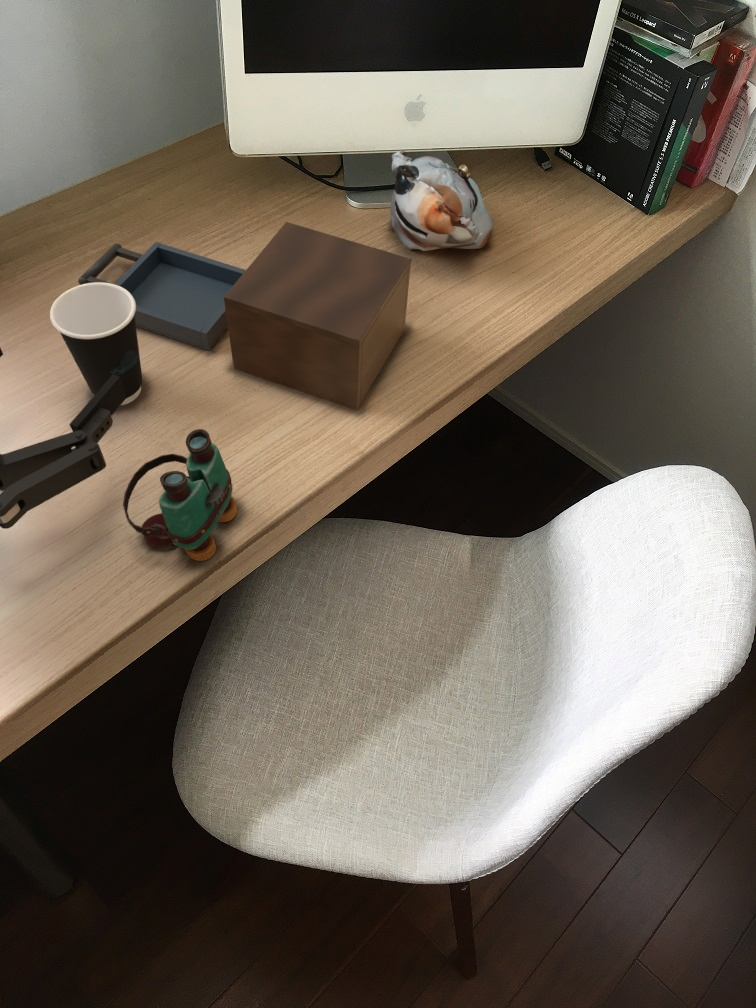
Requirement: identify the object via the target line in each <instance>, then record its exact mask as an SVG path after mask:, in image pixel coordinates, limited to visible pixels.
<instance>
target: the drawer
mask: <svg viewBox="0 0 756 1008" xmlns="http://www.w3.org/2000/svg"><path fill="white" fill-rule="evenodd" d="M117 257H119V258H123V259H125V260H129V261H132V262H134V263H133V264H132V265H131V267H129V268H128V269H127V270H126V271H125V272H124V273H123V275H122V276H121V277H120V278H119V279H118V280H117V281H115V283H113V282H110V281H107V280H104V279H101V278H98V276H99V275H100V274H101V273H102V272H103V271H105V269H106V268H107V267H109V265H110V264H112V262H113V261H114V260H116V258H117ZM246 270H247V269H244V268H242V267H238V266H234V265H232V264H228V263H225V262H222V261H219V260H216V259H213V258H209V257H206V256H202V255H200V254H197V253H193V252H190V251H187V250H183V249H181V248H177V247H174V246H171V245H167V244H164V243H161V242H158V241H155V242H154V243H153V244H152V245H151V246H150V247H149V248H148V249H147V250H146V251H145V252H144V253H139V252H136V251H133V250H129V249H127V248H123V246H122V245H121V244H120V243H114V244H112V245H111V246H110V247H109V248H108V249H107V250H106V251H105V252H104V253H103V254H102V255H101V256H100V257H99V258H98V259H97V260H96V261H95V262H93V264H92V265H90V266H89V268H88V269H87V270H85V272H84V273H83V274H81V275H80V277H79V278H78V281H77V283H78V284H79V285H82V284H87V283H95V282H102V283H110V284H114V285H118V286H120V287H122V288H124V289H126V290H127V291H128V292H129V293H130V294H131V295H132V296H133V298H134V300H135V303H136V311H135V314H134V315H135V323H136V328H137V327H138V328H141V329H144V330H147V331H149V332H153V333H155V334H159V335H162V336H163V337H167V338H170V339H173V340H176V341H178V342H182V343H185V344H188V345H191V346H194V347H197V348H200V349H202V350H205V351H210V350H211V349H212V348H213V347H214V346H215V344H216V343H217V342H218V340H219V339H220V338H221V337H222V336H223V334H224V333H225V332H226V331H227V330H228V324H227V317H226V310H225V303H224V296H225V295H226V294H227V292H228V291H229V290H230V289H231V288H232V286H233V285H234V284H235V283H236V282H237V280H238V279H239V278H240V277H241V276H242V274H243V273H244V272H245V271H246Z"/></svg>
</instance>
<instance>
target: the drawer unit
mask: <svg viewBox="0 0 756 1008" xmlns="http://www.w3.org/2000/svg"><path fill="white" fill-rule="evenodd" d="M411 267H412V258H410V257H407V256H404V255H400V254H397V253H393V252H390V251H387V250H383V249H379V248H377V247H374V246H370V245H366V244H363V243H360V242H356V241H353V240H350V239H346V238H344V237H339V236H336V235H332V234H329V233H326V232H322V231H319V230H315V229H312V228H309V227H305V226H303V225H298V224H295V223H292V222H288V221H286V222H285V223H283V225H282V226H281V227H280V228H279V230H277V232H276V233H275V234H274V236H273V237H272V238H271V240H269V242H268V243H267V244H266V246H264V248H263V249H262V250H261V251H260V252H259V253H258V255H257V256H256V257H255V259H253V261H252V262H251V264H250V265H249V266H248V267H247V268H246V269H245V270H246V271H245V272H244V273H243V274H242V276H241V277H240V278H239V279H238V280H237V282H236V283H235V284H234V285H233V286H232V288H231V289H230V290H229V291H228V292H227V294H226V295H225V296H224V303H225V310H226V317H227V324H228V328H227V330H228V338H229V344H230V352H231V358H232V366H233V369H235V370H239V371H241V372H244V373H247V374H250V375H253V376H256V377H259V378H262V379H265V380H268V381H270V382H274V383H276V384H280V385H283V386H285V387H288V388H291V389H294V390H297V391H300V392H303V393H305V394H309V395H312V396H314V397H318V398H321V399H324V400H327V401H330V402H332V403H335V404H339V405H341V406H344V407H348V408H350V409H353V410H356V411H358V410H359V407H360V406H361V404H362V402H363V401H364V399H365V397H366V395H367V394H368V392H369V391H370V388H371V387H372V386H373V384H374V381H375V380H376V378H377V377H378V375H379V373H380V372H381V370H382V368H383V366H384V365H385V363H386V362H387V360H388V358H389V357H390V355H391V354H392V352H393V350H394V348H395V347H396V344H397V343H398V341H399V340H400V338H401V336H402V334H403V333H404V331H405V329H406V321H407V309H408V297H409V289H410V288H409V287H410V277H411Z"/></svg>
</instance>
